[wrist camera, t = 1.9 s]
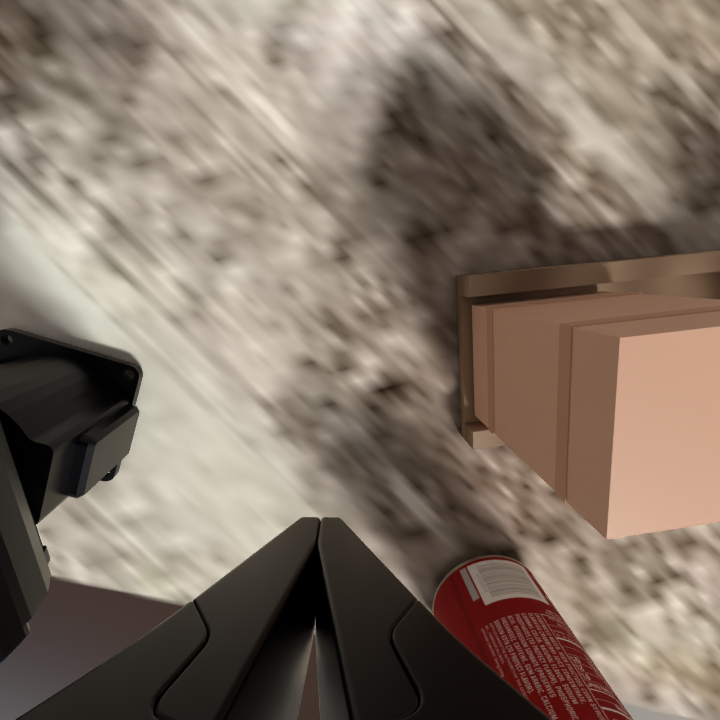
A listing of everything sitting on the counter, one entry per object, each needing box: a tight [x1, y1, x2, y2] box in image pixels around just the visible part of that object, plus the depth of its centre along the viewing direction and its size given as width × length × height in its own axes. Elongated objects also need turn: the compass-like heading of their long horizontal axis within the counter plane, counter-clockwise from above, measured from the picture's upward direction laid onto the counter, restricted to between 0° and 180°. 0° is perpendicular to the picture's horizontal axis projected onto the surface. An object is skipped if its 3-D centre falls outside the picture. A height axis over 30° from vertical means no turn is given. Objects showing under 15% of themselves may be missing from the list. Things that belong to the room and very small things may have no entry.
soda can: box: [432, 555, 633, 720], centre depth 19 cm, size 7×7×12 cm
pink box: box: [472, 291, 720, 539], centre depth 16 cm, size 7×6×10 cm
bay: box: [456, 250, 720, 450], centre depth 17 cm, size 18×9×10 cm, turn 95°
